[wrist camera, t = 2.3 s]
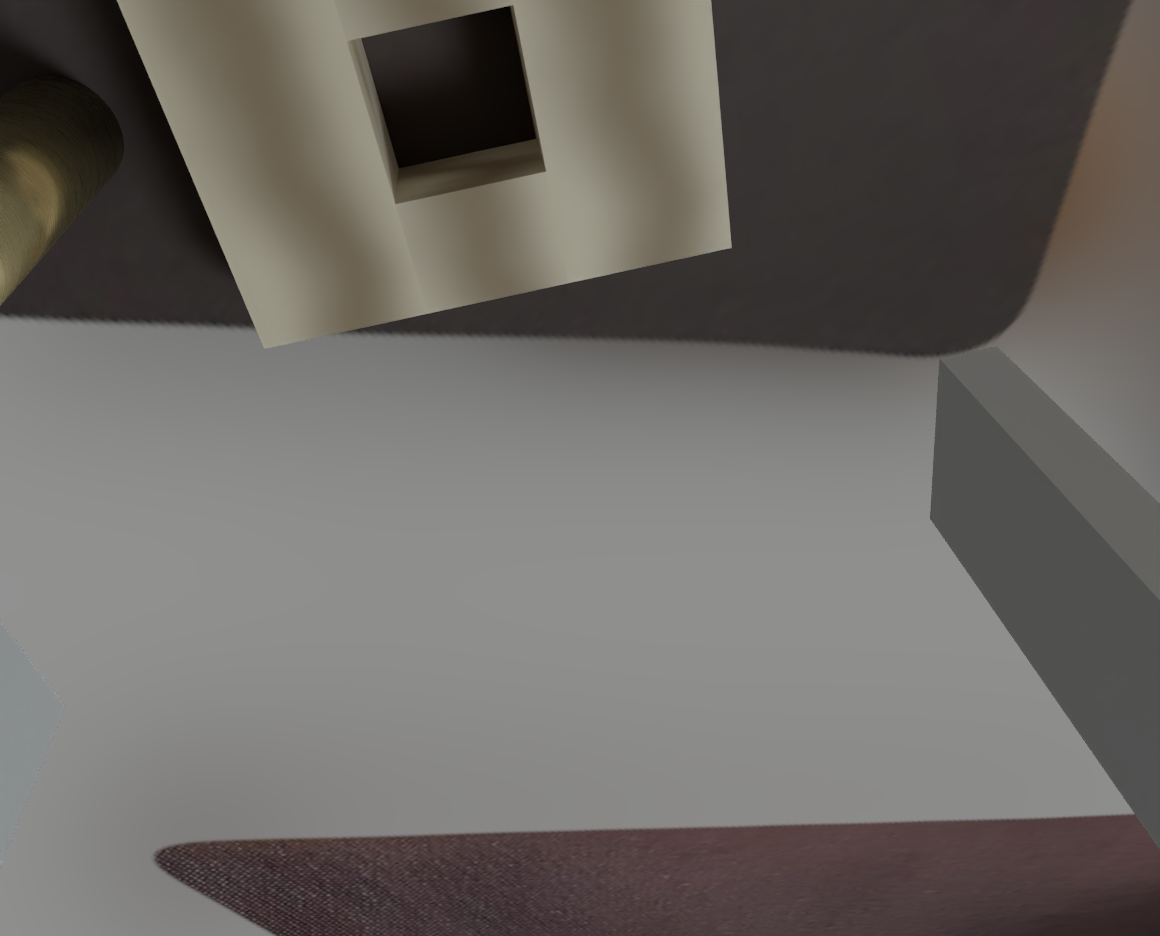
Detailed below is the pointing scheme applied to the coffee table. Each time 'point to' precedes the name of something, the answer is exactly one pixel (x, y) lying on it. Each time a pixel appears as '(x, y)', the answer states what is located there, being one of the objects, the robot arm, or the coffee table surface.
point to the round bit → (49, 166)
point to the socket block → (443, 187)
